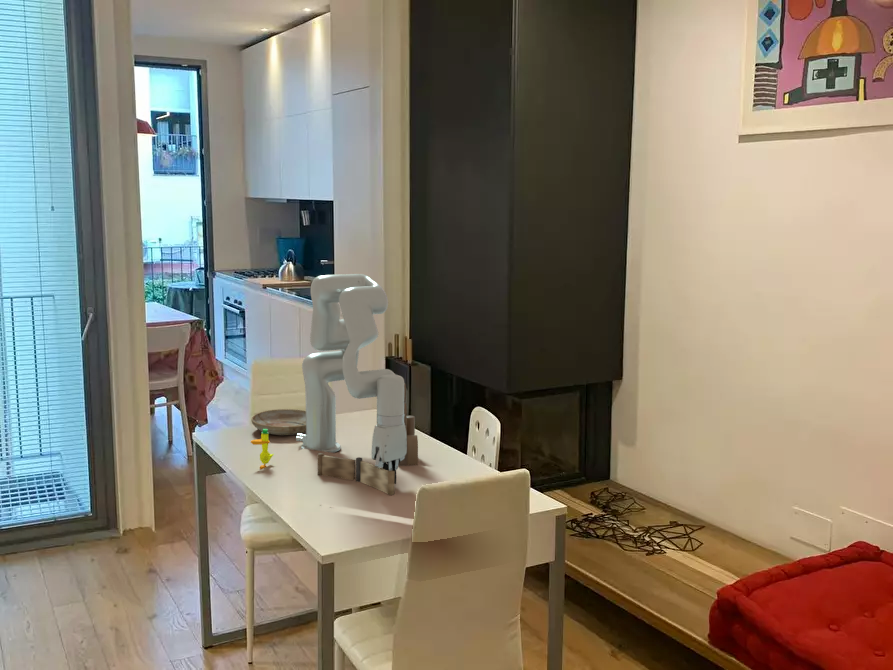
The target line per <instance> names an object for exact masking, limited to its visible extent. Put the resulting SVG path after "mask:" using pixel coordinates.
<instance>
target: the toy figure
mask: <svg viewBox="0 0 893 670" xmlns="http://www.w3.org/2000/svg"><path fill="white" fill-rule="evenodd" d="M260 432H261V435H260V438H259V439H252V440H250V444H252V445H255V446H256V445H260V446H261V449H262V450H261V452H260V454H259V460H260V462H261V463H262V465H259V470H263V469H265V468H267V465H266V464H269V462H270V460H271V459H272V457H273V456H274V455H275V454H274V453H270V452H269V450H268V449H269V444H271V443H270V440H269V433H268V429H263V431H260Z"/></svg>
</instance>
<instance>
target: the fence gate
mask: <svg viewBox="0 0 893 670" xmlns="http://www.w3.org/2000/svg"><path fill="white" fill-rule="evenodd" d="M394 476H395V471H392V470H390V471H388V470H385V469H383V468H382V467H377V466H375V464H372V463H371V462H367V461H364V460H362V461H361V480H360V483H362V484H365V485H367V486H368V487H371V488H373V489H376V490H377V491H381V492H383V493H385V494H387V496H393V495H395V484H394Z"/></svg>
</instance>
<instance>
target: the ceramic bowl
mask: <svg viewBox="0 0 893 670" xmlns="http://www.w3.org/2000/svg"><path fill="white" fill-rule="evenodd" d="M251 424H252V425H253V426H254V427H255V428H256V429H257V430H259V431H260V432H263V429H268V435H275V436H293V435H297V434H298V433H300V434H306V410H303V409H291V408H289V409H288V408H284V409H283V408H282V409H281V408H279V409H271V410H270V409H269V410H265V411H264V410H263V411H259V412H258V413H255V414H254V415H252V417H251Z"/></svg>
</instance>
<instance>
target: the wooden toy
mask: <svg viewBox="0 0 893 670" xmlns="http://www.w3.org/2000/svg"><path fill="white" fill-rule="evenodd" d="M406 395H407V385H406V383H405V382H404V414H405V416H404V423H405V428H406V436H407V452H406V455H405V458H404V459H403V460H402V461H400V463H399V464H398V467H407V466H418V465H419V439H418V435H417V434H415V433H416V432H415V431H416V423H415V422H416V417H415V416H414V415H407V414H408V410H407V403H406V401H407V396H406Z"/></svg>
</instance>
